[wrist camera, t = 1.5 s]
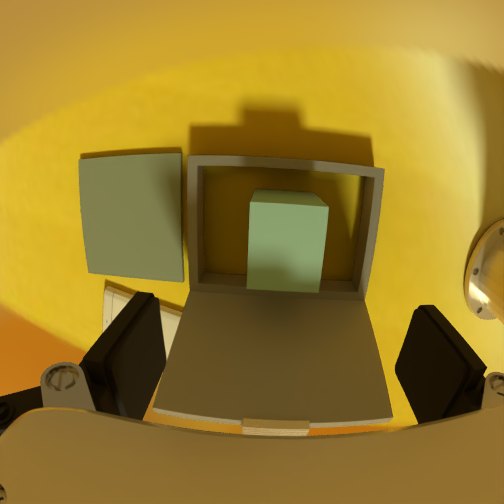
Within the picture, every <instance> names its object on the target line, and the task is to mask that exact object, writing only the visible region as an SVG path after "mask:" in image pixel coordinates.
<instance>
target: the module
mask: <svg viewBox="0 0 504 504" xmlns="http://www.w3.org/2000/svg"><path fill="white" fill-rule="evenodd" d="M328 212H329V207H328V206H327V205H326V204H325V203H324V202H323V201H322V200H321V199H320V198H319V197H318V196H317V195H316V194H315V193H314V192H301V191H286V190H270V189H255V192H254V194H253V196H252V198H251V201H250V215H249V240H248V266H247V289H257V290H274V291H292V292H313V293H319V287H320V280H321V272H322V265H323V257H324V249H325V240H326V232H327V222H328Z"/></svg>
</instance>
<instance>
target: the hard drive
mask: <svg viewBox="0 0 504 504" xmlns="http://www.w3.org/2000/svg"><path fill="white" fill-rule="evenodd" d="M133 296H134V295H132V294H129V293H126V292H124V291H121V290H118V289H116V288H113V287H111V286H107V287H106V289H105V291H104V306H103V332H104V331H105V330H106V328H107V327H108V326H109V325H110V323H111V322H112V321H113V320H114V319H115V317H116V316H117V315H118V314H119V313H120V311H121V310H122V309H123V308H124V307H125V305H126V304H127V303H128V302H129V301H130V299H131V298H132V297H133ZM160 313H161V321H162V329H163V336H164V343H165V350H166V357H167V358H168V355H169V352H170V349H171V346H172V342H173V339H174V336H175V333H176V330H177V327H178V324H179V321H180V318H181V315H182V312H180V311H177V310H174V309H172V308H169V307H166V306H163V305H160Z"/></svg>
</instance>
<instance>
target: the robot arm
mask: <svg viewBox="0 0 504 504" xmlns="http://www.w3.org/2000/svg"><path fill="white" fill-rule="evenodd" d="M464 292H465V299H466V302H467V305H468V307H469V308H470V310H471V311H472V312H473V313H474V314H475V315H476V316H477V317H479V318H480V319H484V320H491V319H495V318H498V319H499V320H500V321H501V322H502V323H503V324H504V219H502V220H500V221H498V222H496V223H495V224H493V225H492V226H491V227H490V228H489V229H488V230H487V231H486V232H485V233H484V234H483V236H482V237H481V238H480V240H479V241H478V243H477V245H476V247H475V249H474V250H473V253H472V255H471V258H470V260H469V263H468V267H467V270H466V276H465V284H464ZM166 361H167V357H166V350H165V343H164V336H163V329H162V321H161V313H160V304H159V299H158V298H156V297H154V294H153V293H147V292H136V294H135V295H134V296H133V297H132V298H131V299H130V301H129V302H128V303H127V304H126V305H125V307H124V308H123V309H122V310H121V311H120V313H119V314H118V315H117V316H116V317H115V319H114V320H113V321H112V322H111V323H110V325H109V326H108V327H107V328H106V330H105V331H104V332H103V333H102V335H101V336H100V337H99V338H98V340H97V341H96V342H95V343H94V345H93V346H92V347H91V348H90V350H89V351H88V352H87V354H86V355H85V356H84V357H83V360H82V361H81V363H80V364H79V365H77V364H74V363H71V362H61V363H57V364H54V365H52V366H50V367H49V368H47V369H46V370H45V371H44V372H43V374H42V376H41V381H40V384H41V386H38V387H35V388H31V389H27V390H24V391H20V392H16V393H12V394H8V395H5V396H1V397H0V504H504V374H503V373H500V372H492V373H489V374H488V375H487V377H486V378H485V377H484V376H483V374H484V373H485V371H486V369H487V367H486V365H485V364H484V363H483V362H482V360H481V359H480V358H479V357H478V355H477V354H476V353H475V352H474V350H473V349H472V348H471V347H470V346H469V344H468V343H467V342H466V341H465V340H464V338H463V337H462V336H461V335H460V334H459V333H458V331H457V330H456V329H455V328H454V327H453V326H452V325H451V323H450V322H449V321H448V320H447V319H446V318H445V317H444V315H443V314H442V313H441V312H440V311H439V310H438V309H437V308H436V307H435V306H434V305H420V306H419V307H418V308H417V309H415V310H414V312H413V315H412V319H411V322H410V325H409V328H408V331H407V334H406V337H405V340H404V343H403V346H402V348H401V351H400V354H399V357H398V359H397V362H396V365H395V373H396V375H397V378H398V380H399V382H400V384H401V386H402V388H403V390H404V392H405V395H406V397H407V399H408V401H409V403H410V406H411V408H412V410H413V412H414V414H415V417H416V419H417V421H418V424H417V425H412V426H406V427H400V428H393V429H386V430H379V431H370V432H363V433H362V432H361V433H351V434H337V435H318V436H265V435H245V434H231V433H221V432H211V431H203V430H195V429H187V428H181V427H175V426H169V425H162V424H157V423H151V422H147V421H142V420H143V417H144V415H145V412H146V410H147V408H148V405H149V403H150V401H151V398H152V396H153V393H154V391H155V389H156V387H157V384H158V382H159V380H160V378H161V375H162V373H163V371H164V368H165V366H166Z"/></svg>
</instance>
